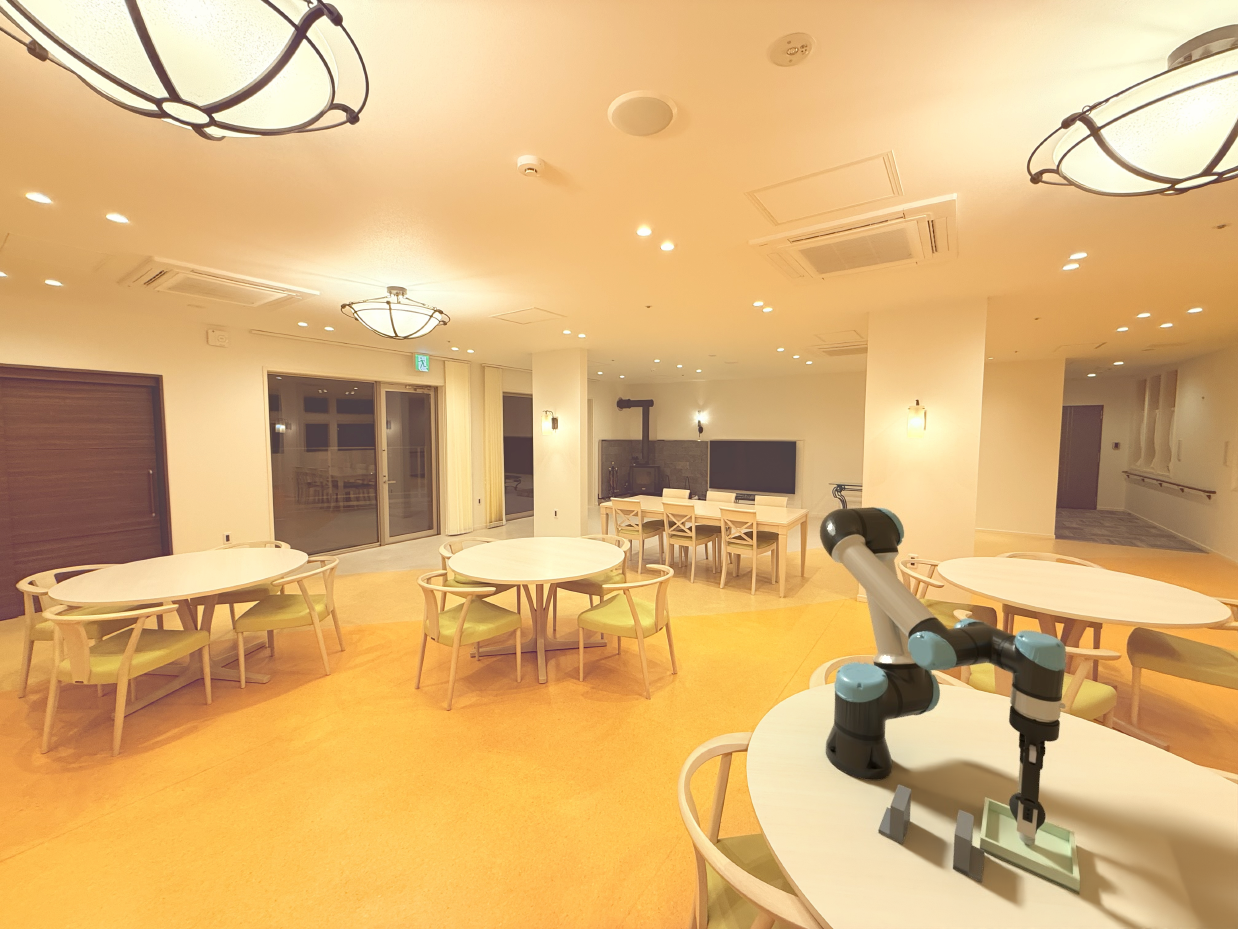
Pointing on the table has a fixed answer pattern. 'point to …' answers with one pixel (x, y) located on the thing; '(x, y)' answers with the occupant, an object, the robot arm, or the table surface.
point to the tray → (1031, 846)
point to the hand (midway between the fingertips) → (1025, 812)
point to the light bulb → (1014, 810)
